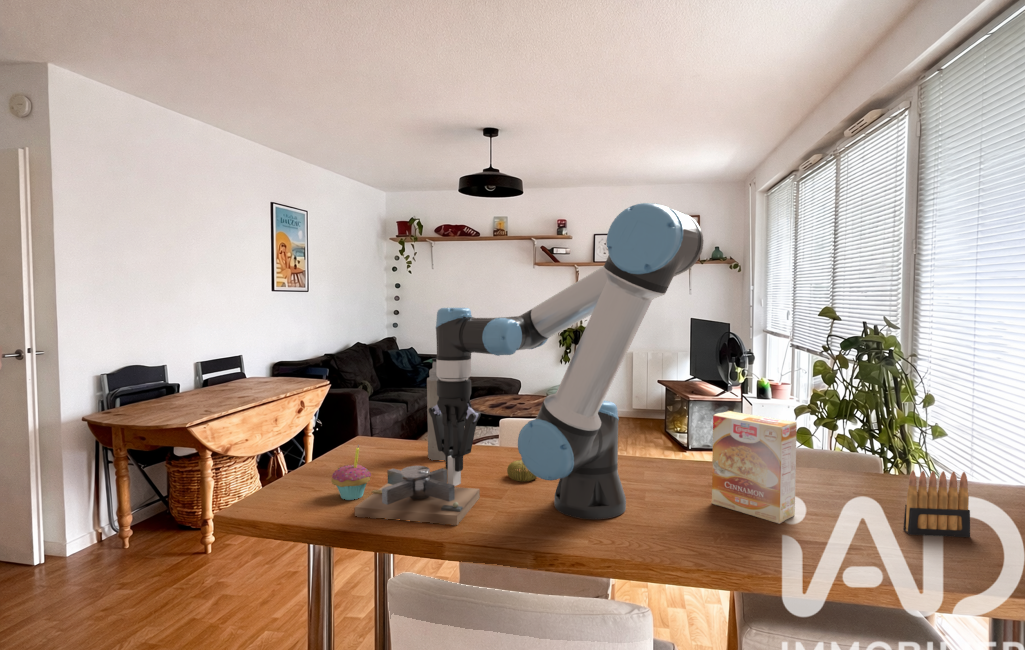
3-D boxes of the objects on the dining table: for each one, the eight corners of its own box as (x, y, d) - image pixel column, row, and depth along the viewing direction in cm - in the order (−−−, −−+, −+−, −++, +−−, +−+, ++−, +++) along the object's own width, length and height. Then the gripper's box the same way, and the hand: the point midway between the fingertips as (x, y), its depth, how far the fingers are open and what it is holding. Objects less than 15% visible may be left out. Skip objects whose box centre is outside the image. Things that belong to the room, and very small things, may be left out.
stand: (479, 497, 129) (479, 481, 129) (457, 525, 114) (456, 507, 113) (386, 490, 134) (386, 475, 134) (352, 516, 118) (352, 499, 118)
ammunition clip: (908, 534, 108) (910, 471, 108) (903, 530, 110) (904, 468, 109) (970, 537, 107) (973, 473, 106) (964, 533, 109) (966, 470, 108)
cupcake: (377, 492, 133) (376, 440, 133) (358, 505, 125) (357, 450, 124) (344, 489, 135) (343, 438, 135) (323, 501, 127) (322, 447, 127)
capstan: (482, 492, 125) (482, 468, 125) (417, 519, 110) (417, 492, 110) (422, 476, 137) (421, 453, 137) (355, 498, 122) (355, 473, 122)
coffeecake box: (710, 503, 125) (711, 414, 124) (727, 496, 129) (729, 410, 128) (779, 524, 113) (781, 426, 112) (796, 515, 118) (797, 421, 117)
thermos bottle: (458, 453, 165) (457, 356, 164) (454, 461, 157) (453, 359, 156) (430, 453, 166) (429, 356, 164) (425, 461, 158) (424, 359, 156)
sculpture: (517, 456, 148) (545, 460, 144) (517, 471, 148) (545, 476, 144) (500, 464, 141) (529, 469, 137) (501, 480, 141) (529, 485, 137)
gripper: (488, 378, 125) (488, 485, 127) (442, 373, 132) (442, 475, 134) (467, 383, 119) (467, 495, 120) (419, 378, 126) (420, 484, 127)
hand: (454, 484), depth 127 cm, fingers closed
